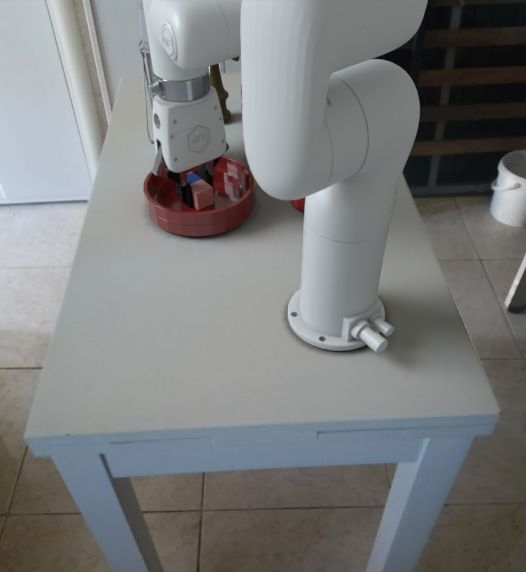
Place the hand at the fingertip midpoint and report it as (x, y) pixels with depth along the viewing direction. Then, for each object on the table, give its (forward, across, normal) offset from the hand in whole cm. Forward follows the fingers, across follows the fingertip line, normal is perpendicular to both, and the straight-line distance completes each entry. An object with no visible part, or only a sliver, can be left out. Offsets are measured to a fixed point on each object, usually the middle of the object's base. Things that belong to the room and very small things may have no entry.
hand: (196, 197), depth 92 cm
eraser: (0, 0, 0) cm, 0 cm away
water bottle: (+1, +4, +13) cm, 13 cm away
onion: (+1, +12, -13) cm, 18 cm away
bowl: (+1, 0, -1) cm, 2 cm away
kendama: (+1, +19, +22) cm, 29 cm away
